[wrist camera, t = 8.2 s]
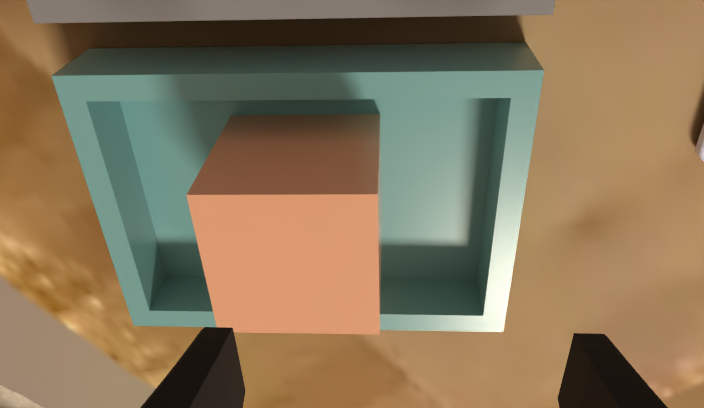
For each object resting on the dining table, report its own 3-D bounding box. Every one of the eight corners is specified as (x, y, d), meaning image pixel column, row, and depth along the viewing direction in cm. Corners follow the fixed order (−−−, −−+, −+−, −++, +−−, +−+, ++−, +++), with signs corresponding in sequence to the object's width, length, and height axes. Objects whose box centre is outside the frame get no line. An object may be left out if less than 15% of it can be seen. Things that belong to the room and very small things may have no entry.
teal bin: (526, 42, 18) (544, 70, 16) (492, 287, 23) (503, 331, 21) (89, 48, 19) (51, 75, 17) (156, 282, 24) (133, 325, 22)
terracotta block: (380, 113, 19) (377, 194, 15) (381, 236, 22) (379, 334, 17) (230, 115, 19) (186, 194, 15) (250, 236, 22) (217, 332, 18)
